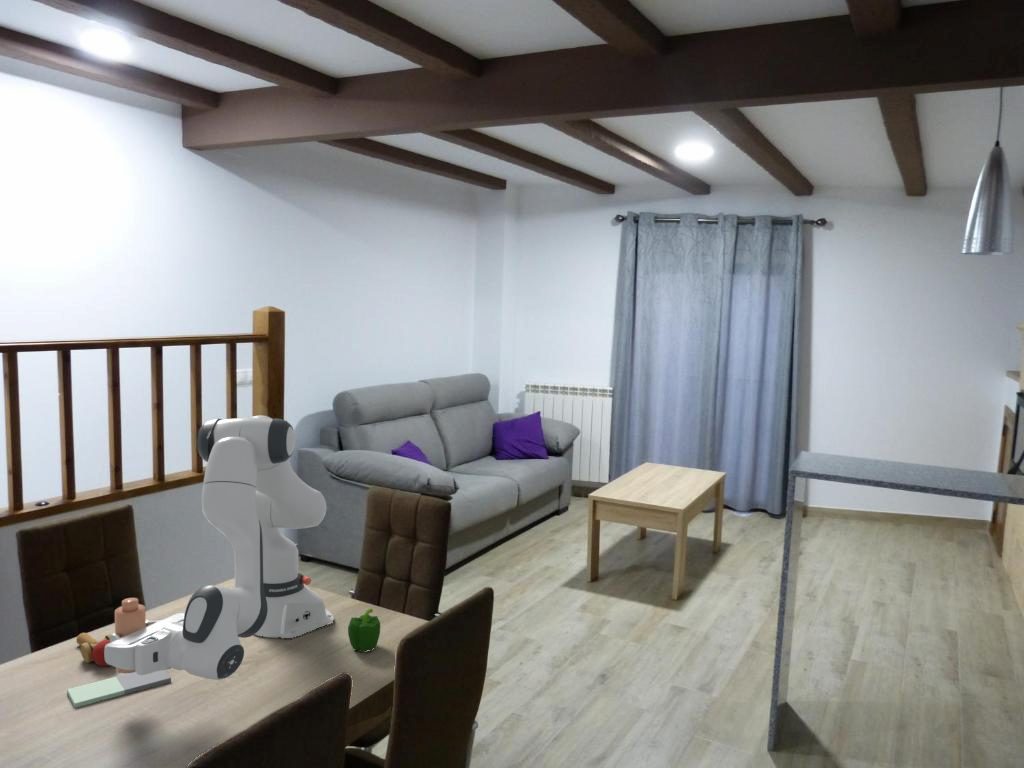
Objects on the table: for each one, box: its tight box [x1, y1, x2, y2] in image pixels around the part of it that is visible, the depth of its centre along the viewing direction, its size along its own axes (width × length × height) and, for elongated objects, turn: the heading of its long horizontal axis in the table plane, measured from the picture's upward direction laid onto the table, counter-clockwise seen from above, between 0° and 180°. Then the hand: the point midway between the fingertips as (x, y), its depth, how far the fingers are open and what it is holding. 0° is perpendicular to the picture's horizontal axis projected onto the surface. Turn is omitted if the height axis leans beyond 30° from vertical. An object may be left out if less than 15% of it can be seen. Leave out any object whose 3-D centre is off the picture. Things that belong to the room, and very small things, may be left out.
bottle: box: [114, 597, 147, 674], centre depth 173 cm, size 6×6×15 cm
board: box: [66, 670, 172, 709], centre depth 181 cm, size 20×8×1 cm, turn 130°
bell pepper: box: [347, 608, 381, 652], centre depth 205 cm, size 8×8×10 cm
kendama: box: [76, 632, 112, 667], centre depth 196 cm, size 8×6×18 cm
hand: (127, 630), depth 173 cm, fingers closed on bottle, 6 cm apart
